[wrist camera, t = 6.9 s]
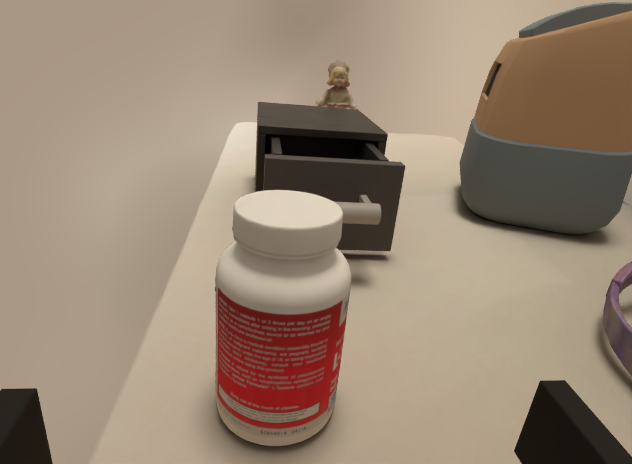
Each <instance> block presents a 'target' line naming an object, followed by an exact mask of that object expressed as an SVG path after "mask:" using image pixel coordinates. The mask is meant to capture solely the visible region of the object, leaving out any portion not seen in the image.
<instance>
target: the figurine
mask: <svg viewBox="0 0 632 464" xmlns="http://www.w3.org/2000/svg"><path fill="white" fill-rule="evenodd" d="M328 71H329V77H330V79H329V80H328V82H327V84H328V85H330V86H331V85H335V86H334V87H332V88H331V89H328V90H327V91H326V92H325V94H324V95H323V96H322V98H321V99H319V100H317V101H316V105H314V106H318V107H331V108H345V109H356V105H355V103H354V100H353V98H352V95H351V93H350V92H349V91H347V88H346V87H348V86H349V85H350V83H349V82H348V72H349V67H348V65H347V64H346V63H345V62H342V61H335V62H333V63H331V65H330V66H329V69H328Z"/></svg>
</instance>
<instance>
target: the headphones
mask: <svg viewBox="0 0 632 464" xmlns="http://www.w3.org/2000/svg"><path fill="white" fill-rule="evenodd" d="M630 284H632V262H630V263H628V264H626V265H625V266H624V267H623V268H621V269H620V270H619V272H618V273H617V274H616V275H615V277H614V278H613V279H612V281H611V284H610V286H609V289H608V291H607V294H606V302H605V306H604V314H603V321H604V327H605V331H606V334H607V337H608V340H609V342H610V345H611V347H612V349H613V350H614V352H615V353H616V355H617V356H618V358H619V359H620V361H621V362H622V364H623V366H624V367H625V368H626V370H627V371H628V372H629V374H630V375H631V376H632V327H631V326H630V325H629V324H628V323H627V322H626V320H625V318H624V316H623V314H622V312H621V309H620V304H619V294H620V293H621V292H622V290H623V289H625V288H626V287H628V286H629V285H630Z"/></svg>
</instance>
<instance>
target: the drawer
mask: <svg viewBox="0 0 632 464" xmlns="http://www.w3.org/2000/svg"><path fill="white" fill-rule="evenodd" d="M404 170H405V165H404V164H402V163H401V162H390V161H388V159H387V158H386V157H385V156H384V155H383V154H382V153H381V152H380V151H379V150H378V149H377V148H376V147H375V146H374V145H373V144H372V143H371V142H370V141H366V140H351V139H335V138H320V137H305V136H289V135H274V134H270V136H269V154H265V163H264V185H263V191H266V190H289V191H299V192H305V193H311V194H314V195H318V196H321V197H324V198H327V199H329V200H331V201H333V202H335V203H336V204H338V205H339V206H340V207H341V209H342V212H343V220H342V234H341V239H340V241H339V243H338V245H337V247H336V248H337V249H338V250H371V251H390V250H391V244H392V239H393V233H394V227H395V222H396V216H397V210H398V205H399V199H400V193H401V188H402V182H403V176H404Z"/></svg>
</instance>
